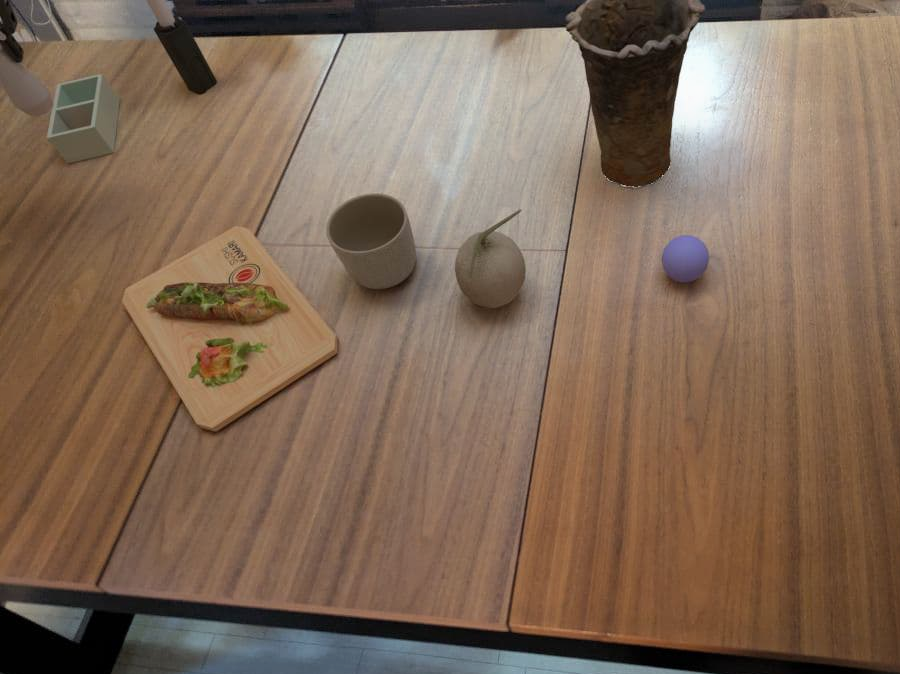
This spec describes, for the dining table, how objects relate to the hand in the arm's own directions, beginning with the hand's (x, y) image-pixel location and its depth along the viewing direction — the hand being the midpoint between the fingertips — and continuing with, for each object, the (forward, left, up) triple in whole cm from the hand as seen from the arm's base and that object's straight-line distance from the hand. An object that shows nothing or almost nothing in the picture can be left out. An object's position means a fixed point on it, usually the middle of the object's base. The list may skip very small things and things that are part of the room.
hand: (4, 62), depth 110 cm
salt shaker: (0, 0, -8) cm, 8 cm away
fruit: (+65, -48, -26) cm, 85 cm away
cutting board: (+23, -40, -26) cm, 53 cm away
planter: (+49, -37, -26) cm, 67 cm away
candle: (+18, +27, -26) cm, 41 cm away
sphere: (+94, -53, -26) cm, 111 cm away
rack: (-4, +20, -26) cm, 33 cm away
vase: (+94, -26, -26) cm, 101 cm away
